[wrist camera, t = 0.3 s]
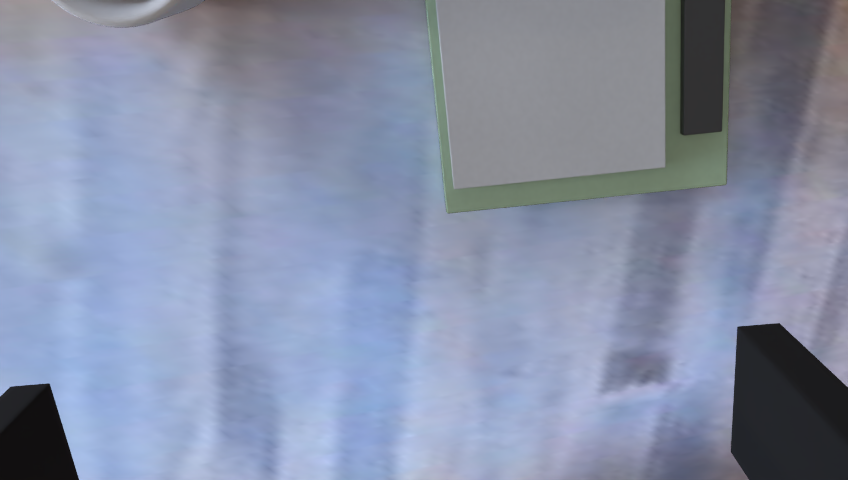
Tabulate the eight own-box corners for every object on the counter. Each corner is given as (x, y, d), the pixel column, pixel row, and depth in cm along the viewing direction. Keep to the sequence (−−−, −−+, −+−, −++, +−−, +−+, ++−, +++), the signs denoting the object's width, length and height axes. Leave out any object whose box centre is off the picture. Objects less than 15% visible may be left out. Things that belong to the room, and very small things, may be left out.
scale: (414, -104, 36) (413, -115, 33) (715, -140, 35) (743, -154, 32) (445, 202, 40) (447, 218, 37) (709, 175, 40) (733, 188, 37)
